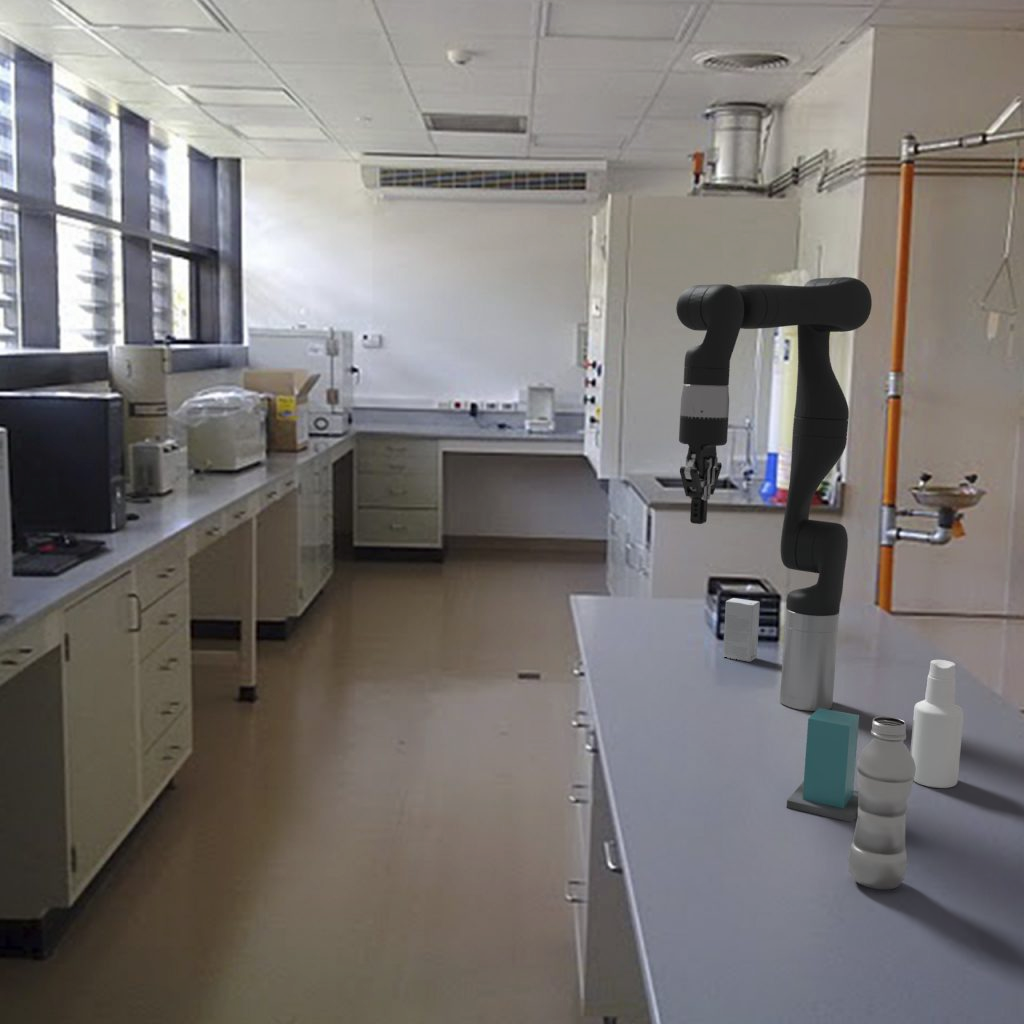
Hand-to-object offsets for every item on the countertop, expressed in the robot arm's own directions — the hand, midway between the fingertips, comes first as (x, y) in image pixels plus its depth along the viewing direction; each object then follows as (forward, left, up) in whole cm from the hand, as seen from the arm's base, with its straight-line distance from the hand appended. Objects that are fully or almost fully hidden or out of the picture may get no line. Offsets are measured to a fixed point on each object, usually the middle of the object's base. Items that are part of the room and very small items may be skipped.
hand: (698, 522), depth 178 cm
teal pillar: (+16, +27, -34) cm, 46 cm away
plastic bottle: (+37, +38, -35) cm, 64 cm away
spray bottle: (-2, +38, -35) cm, 52 cm away
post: (+16, +27, -35) cm, 47 cm away
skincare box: (-51, -8, -35) cm, 62 cm away
